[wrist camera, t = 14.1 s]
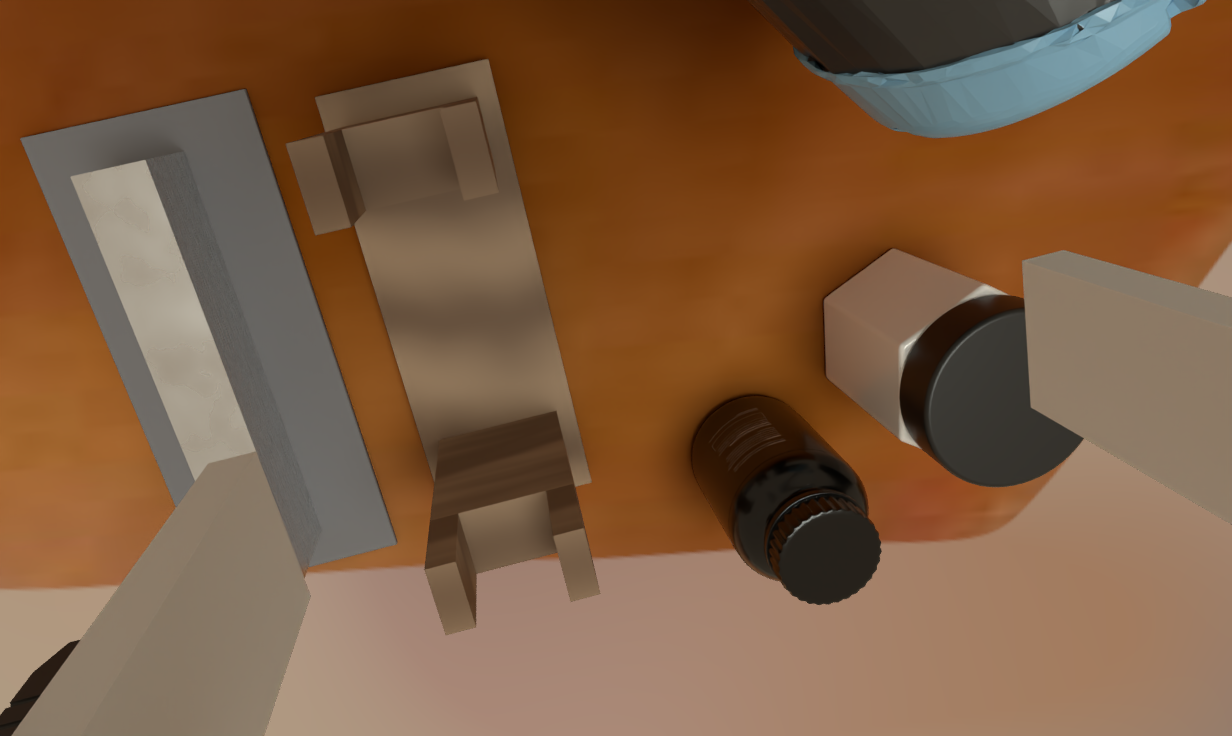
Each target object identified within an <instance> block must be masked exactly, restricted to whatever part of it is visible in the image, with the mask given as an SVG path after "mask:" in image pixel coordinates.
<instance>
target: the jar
mask: <svg viewBox="0 0 1232 736" xmlns="http://www.w3.org/2000/svg"><path fill="white" fill-rule="evenodd" d="M824 326H825V359H826V377H827V379H828V380H829V381H831V382H832V383H833V384H834V385H835V386H837V387H838V388H839V389H840V390H841V391H842V392H844V393H845V394H846V395H847V396H848V397H850V398H851V399H852V400H853V401H854V402H856V403H857V404H858V405H859V406H860V407H861V408H863V409H864V410H865V411H866V412H867V413H869V414H870V415H871V416H872V417H873V418H874V419H876V420H877V421H878V422H879V423H880V424H882V425H883V426H884V427H885V428H886V429H888V430H889V431H890V432H891V433H892V434H893V435H895V436H896V437H897V438H898V439H899V440H901V441H903V442H905V443H908V444H910V445H913V446H915V447H918V448H920V449H922V450H923V451H925V452H926V453H927V454H928V455H929V456H931V457H932V458H933V459H934V460H936V461H937V462H938V463H939V464H940V465H942V466H943V467H944V468H945V469H947V470H948V471H949V472H950V473H952V474H953V475H955V476H956V477H958V478H960V479H962V480H964V481H966V482H969V483H972V484H975V485H979V486H986V487H1007V486H1014V485H1018V484H1022V483H1025V482H1028V481H1031V480H1033V479H1035V478H1038V477H1040V476H1042V475H1044V474H1046V473H1047V472H1049V471H1050V470H1052V469H1054V468H1055V467H1056V466H1058V465H1059V464H1060V463H1062V462H1063V461H1064V460H1065V459H1066V458H1067V457H1068V456H1069V455H1070V454H1071V453H1072V452H1073V451H1074V450H1075V449H1076V448H1077V447H1078V445H1079V444H1080V443H1081V442H1082V440H1083V439H1084V438H1083V437H1081V436H1079V435H1077V434H1076V433H1074V432H1072V431H1071V430H1069V429H1067V428H1065V427H1064V426H1062V425H1060V424H1059V423H1057V422H1055V421H1053V420H1052V419H1050V418H1048V417H1047V416H1045V415H1043V414H1041V413H1040V412H1038V411H1036V410H1035V409H1033V408H1031V403H1030V386H1029V369H1028V352H1027V335H1026V319H1025V302H1024V299H1023V298H1020V297H1016V296H1011V295H1009V294H1007V293H1004V292H1002V291H1000V290H998V289H996V288H994V287H991V286H989V285H987V284H985V283H982V282H979V281H977V280H974V279H972V278H969V277H967V276H964V275H962V274H959V273H956V272H954V271H951V270H949V269H946V268H944V267H941V266H939V265H936V264H934V263H931V262H928V261H926V260H923V259H921V258H918V257H916V256H913V255H911V254H908V253H905V252H903V251H900V250H898V249H891V250H889V251H888V252H887V253H885V254H884V255H883V256H881V257H880V258H878V259H877V260H876V261H874V262H873V263H872V264H870V265H869V266H868V267H866V268H865V269H863V270H862V271H861V272H859V273H858V274H857V275H855V276H854V277H853V278H851V279H850V280H849V281H847V282H846V283H844V284H843V285H842V286H840V287H839V288H838V289H836V290H835V291H834V292H832V293H831V294H830V295H828V296H827V297H826V298H825V299H824Z"/></svg>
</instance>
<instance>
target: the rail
mask: <svg viewBox="0 0 1232 736" xmlns="http://www.w3.org/2000/svg"><path fill="white" fill-rule="evenodd" d="M71 180H72V182H73V185H74V187H75V190H76V192H77V194H78V197H79V199H80V202H81V204H82V207H83V209H84V212H85V214H86V216H87V219H88V221H89V224H90V226H91V229H92V231H93V234H94V236H95V238H96V241H97V243H98V246H99V248H100V251H101V253H102V255H103V258H104V260H105V263H106V265H107V268H108V270H109V273H110V275H111V277H112V280H113V282H114V285H115V287H116V290H117V292H118V295H119V297H120V299H121V302H122V304H123V307H124V309H125V312H126V314H127V316H128V319H129V321H130V324H131V326H132V329H133V331H134V334H135V336H136V338H137V341H138V343H139V346H140V348H141V351H142V353H143V356H144V358H145V360H146V363H147V365H148V368H149V370H150V373H151V375H152V377H153V380H154V382H155V385H156V387H157V390H158V392H159V395H160V397H161V399H162V402H163V404H164V407H165V409H166V412H167V414H168V416H169V419H170V421H171V424H172V426H173V429H174V431H175V434H176V436H177V438H178V441H179V443H180V446H181V448H182V451H183V453H184V456H185V458H186V460H187V463H188V465H189V468H190V470H191V473H192V475H193V477H194V480H195V481H196V480H197V478H198V477H199V475H200V474H201V473H202V471H203V470H204V468H205V467H206V466H207V464H208V463H212V462H216V461H220V460H224V459H228V458H232V457H236V456H240V455H244V454H248V453H252V452H256V453H257V455H258V458H259V461H260V463H261V466H262V468H263V471H264V474H265V476H266V479H267V482H268V484H269V487H270V489H271V492H272V495H273V497H274V500H275V503H276V505H277V508H278V511H279V513H280V516H281V518H282V521H283V524H284V526H285V529H286V532H287V534H288V537H289V540H290V542H291V545H292V547H293V550H294V553H295V555H296V558H297V561H298V563H299V566H300V568H301V571H302V574H303V576H304V578H305V575H306V572H307V569H308V567H309V564H310V561H311V558H312V555H313V553H314V550H315V547H316V544H317V542H318V539H319V536H320V533H321V530H322V528H321V525H320V522H319V519H318V517H317V514H316V511H315V508H314V506H313V503H312V500H311V497H310V495H309V492H308V489H307V487H306V484H305V481H304V478H303V476H302V473H301V470H300V467H299V465H298V462H297V459H296V456H295V454H294V451H293V448H292V445H291V443H290V440H289V437H288V434H287V432H286V429H285V426H284V423H283V421H282V418H281V415H280V412H279V410H278V407H277V404H276V401H275V399H274V396H273V393H272V390H271V388H270V385H269V382H268V379H267V377H266V374H265V371H264V368H263V366H262V363H261V360H260V357H259V355H258V352H257V349H256V346H255V344H254V341H253V338H252V336H251V333H250V330H249V327H248V325H247V322H246V319H245V316H244V314H243V311H242V308H241V305H240V303H239V300H238V297H237V294H236V292H235V289H234V286H233V283H232V281H231V278H230V275H229V272H228V270H227V267H226V264H225V261H224V259H223V256H222V253H221V250H220V248H219V245H218V242H217V239H216V237H215V234H214V231H213V228H212V226H211V223H210V220H209V217H208V215H207V212H206V209H205V206H204V204H203V201H202V198H201V195H200V193H199V190H198V187H197V184H196V182H195V179H194V176H193V174H192V171H191V168H190V165H189V163H188V160H187V157H186V154H185V152H184V151H183V152H179V153H174V154H169V155H165V156H160V157H156V158H151V159H147V160H142V161H138V162H133V163H129V164H124V165H120V166H115V167H111V168H106V169H102V170H97V171H93V172H88V173H84V174H80V175H75V176H71Z"/></svg>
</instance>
